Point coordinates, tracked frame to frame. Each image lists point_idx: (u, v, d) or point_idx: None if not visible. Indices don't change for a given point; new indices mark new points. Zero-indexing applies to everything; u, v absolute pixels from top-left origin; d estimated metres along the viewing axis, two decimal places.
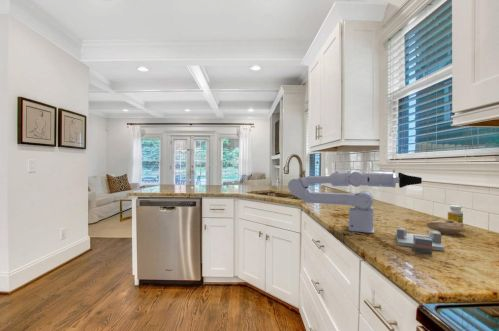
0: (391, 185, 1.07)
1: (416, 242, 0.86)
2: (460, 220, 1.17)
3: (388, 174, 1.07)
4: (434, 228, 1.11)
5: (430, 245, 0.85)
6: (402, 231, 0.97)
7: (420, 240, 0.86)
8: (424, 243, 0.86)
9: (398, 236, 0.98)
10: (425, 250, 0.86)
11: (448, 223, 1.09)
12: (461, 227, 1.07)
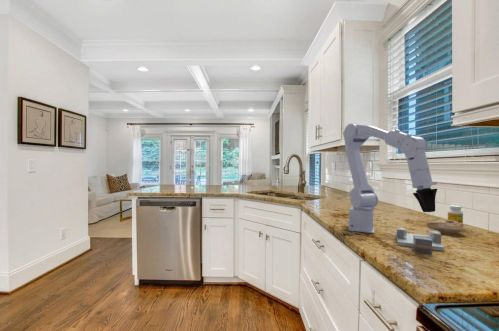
0: (415, 182, 0.91)
1: (416, 242, 0.86)
2: (460, 220, 1.17)
3: (429, 177, 0.89)
4: (434, 228, 1.11)
5: (430, 245, 0.85)
6: (402, 231, 0.97)
7: (420, 240, 0.86)
8: (424, 243, 0.86)
9: (398, 236, 0.98)
10: (425, 250, 0.86)
11: (448, 223, 1.09)
12: (461, 227, 1.07)
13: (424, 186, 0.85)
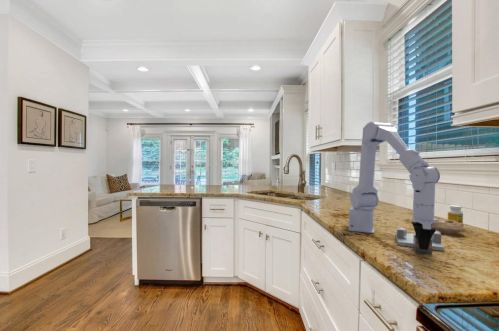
0: (416, 216, 0.87)
1: (416, 242, 0.86)
2: (460, 220, 1.17)
3: (432, 214, 0.85)
4: None
5: (430, 245, 0.85)
6: (402, 231, 0.97)
7: None
8: None
9: (398, 236, 0.98)
10: (425, 250, 0.86)
11: (448, 223, 1.09)
12: (461, 227, 1.07)
13: (424, 227, 0.81)
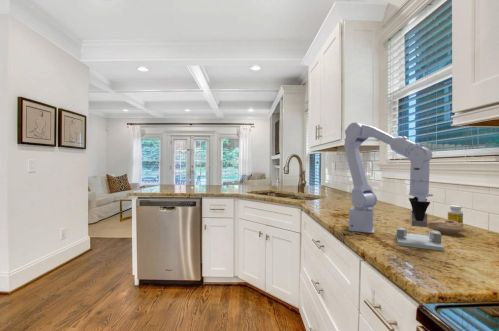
0: (412, 191, 0.96)
1: (413, 216, 0.96)
2: (460, 220, 1.17)
3: (426, 189, 0.94)
4: (434, 228, 1.11)
5: (425, 218, 0.94)
6: (402, 231, 0.97)
7: None
8: None
9: (398, 236, 0.98)
10: (420, 223, 0.95)
11: (448, 223, 1.09)
12: (461, 227, 1.07)
13: (419, 199, 0.91)
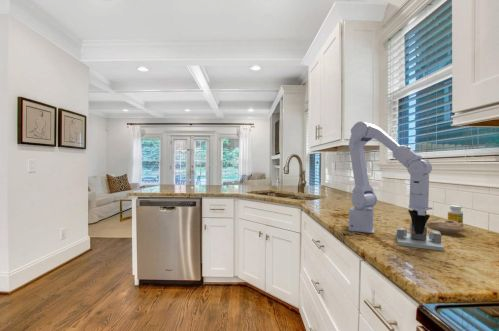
0: (412, 204, 0.96)
1: (412, 229, 0.96)
2: (460, 220, 1.17)
3: (426, 203, 0.94)
4: (434, 228, 1.11)
5: (425, 231, 0.94)
6: (402, 231, 0.97)
7: None
8: None
9: (398, 236, 0.98)
10: (420, 236, 0.95)
11: (448, 223, 1.09)
12: (461, 227, 1.07)
13: (419, 213, 0.91)
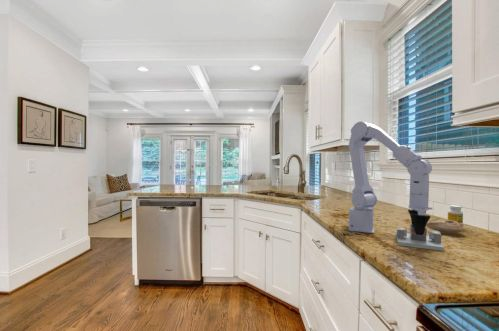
0: (412, 204, 0.96)
1: (412, 230, 0.96)
2: (460, 220, 1.17)
3: (426, 203, 0.94)
4: (434, 228, 1.11)
5: (425, 233, 0.94)
6: (402, 231, 0.97)
7: None
8: None
9: (398, 236, 0.98)
10: (420, 237, 0.95)
11: (448, 223, 1.09)
12: (461, 227, 1.07)
13: (419, 213, 0.91)
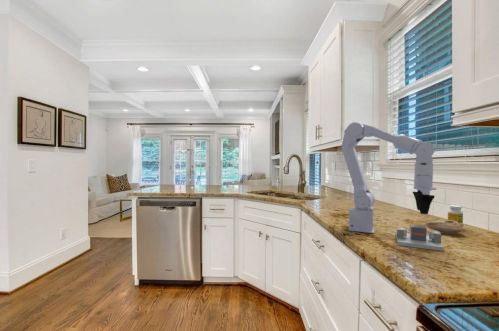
0: (416, 185, 1.01)
1: (412, 230, 0.96)
2: (460, 220, 1.17)
3: (430, 183, 0.99)
4: (434, 228, 1.11)
5: (425, 233, 0.94)
6: (402, 231, 0.97)
7: (416, 228, 0.96)
8: (419, 231, 0.95)
9: (398, 236, 0.98)
10: (420, 237, 0.95)
11: (448, 223, 1.09)
12: (461, 227, 1.07)
13: (424, 192, 0.95)
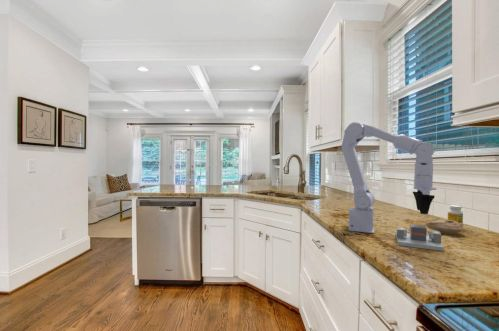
0: (416, 185, 1.01)
1: (412, 230, 0.96)
2: (460, 220, 1.17)
3: (430, 183, 0.99)
4: (434, 228, 1.11)
5: (425, 233, 0.94)
6: (402, 231, 0.97)
7: (416, 228, 0.96)
8: (419, 231, 0.95)
9: (398, 236, 0.98)
10: (420, 237, 0.95)
11: (448, 223, 1.09)
12: (461, 227, 1.07)
13: (424, 192, 0.95)
